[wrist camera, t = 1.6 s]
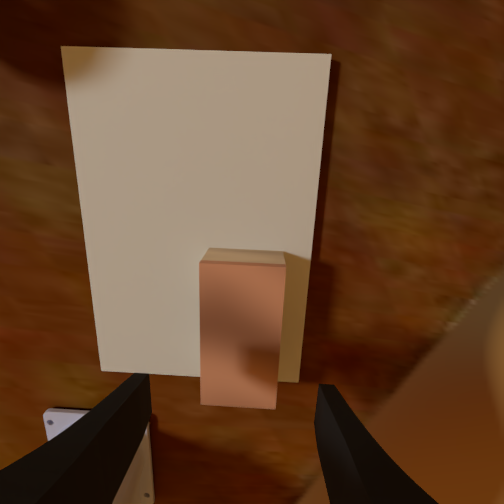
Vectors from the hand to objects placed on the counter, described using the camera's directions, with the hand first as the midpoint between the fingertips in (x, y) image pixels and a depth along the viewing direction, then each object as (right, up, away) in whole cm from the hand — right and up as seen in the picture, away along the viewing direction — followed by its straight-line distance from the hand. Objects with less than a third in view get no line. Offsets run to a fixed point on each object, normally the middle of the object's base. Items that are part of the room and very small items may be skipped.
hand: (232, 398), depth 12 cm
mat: (-3, +7, +6) cm, 10 cm away
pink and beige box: (0, +2, +7) cm, 7 cm away
